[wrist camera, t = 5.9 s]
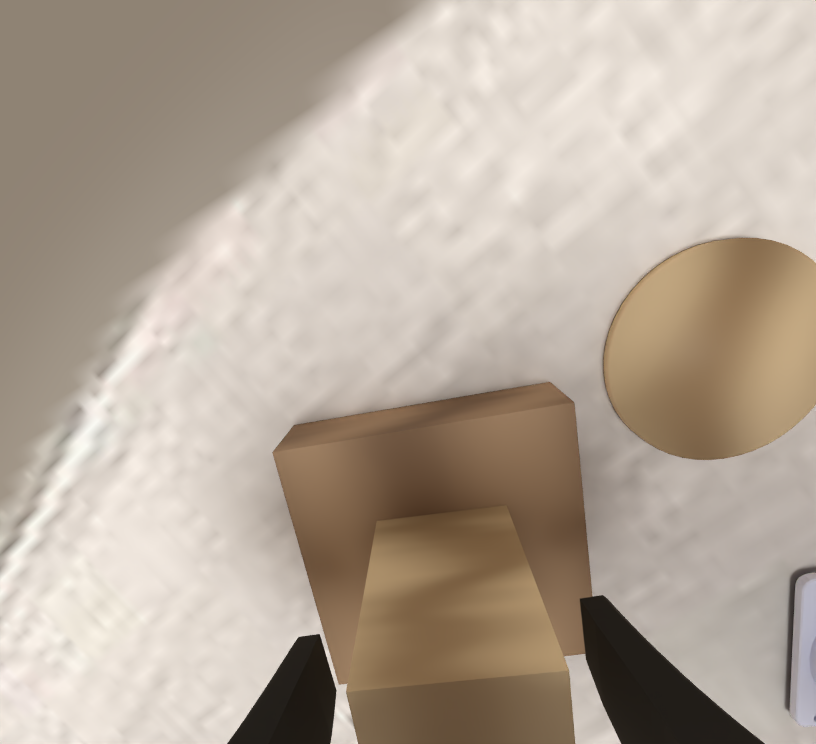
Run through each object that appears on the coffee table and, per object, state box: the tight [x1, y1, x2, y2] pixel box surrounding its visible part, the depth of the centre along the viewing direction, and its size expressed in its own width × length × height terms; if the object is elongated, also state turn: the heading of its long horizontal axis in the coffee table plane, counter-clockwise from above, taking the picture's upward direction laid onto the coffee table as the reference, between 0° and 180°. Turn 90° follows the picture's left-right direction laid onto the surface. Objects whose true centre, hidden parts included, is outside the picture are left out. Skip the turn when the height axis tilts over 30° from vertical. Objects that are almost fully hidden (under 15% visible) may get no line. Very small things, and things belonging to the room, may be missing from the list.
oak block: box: [346, 505, 575, 744], centre depth 12 cm, size 4×4×6 cm
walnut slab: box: [272, 382, 592, 684], centre depth 16 cm, size 10×10×3 cm
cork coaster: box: [604, 238, 816, 460], centre depth 15 cm, size 8×8×1 cm
